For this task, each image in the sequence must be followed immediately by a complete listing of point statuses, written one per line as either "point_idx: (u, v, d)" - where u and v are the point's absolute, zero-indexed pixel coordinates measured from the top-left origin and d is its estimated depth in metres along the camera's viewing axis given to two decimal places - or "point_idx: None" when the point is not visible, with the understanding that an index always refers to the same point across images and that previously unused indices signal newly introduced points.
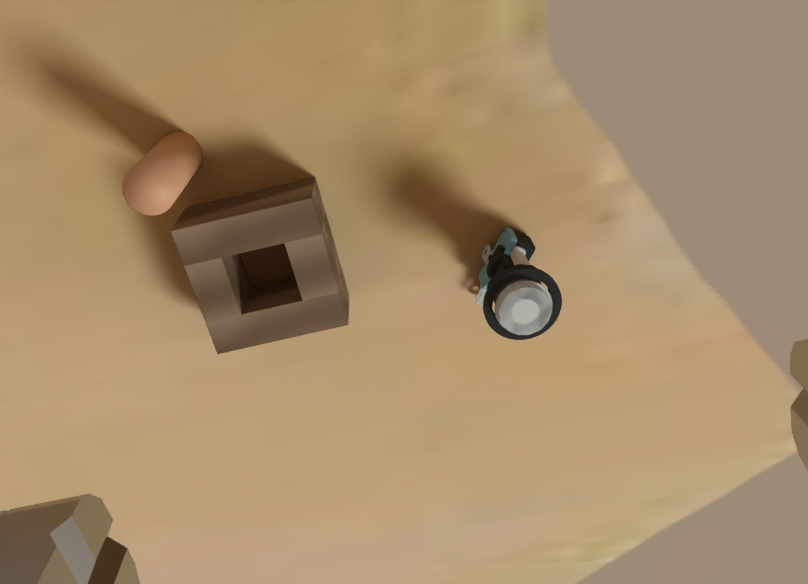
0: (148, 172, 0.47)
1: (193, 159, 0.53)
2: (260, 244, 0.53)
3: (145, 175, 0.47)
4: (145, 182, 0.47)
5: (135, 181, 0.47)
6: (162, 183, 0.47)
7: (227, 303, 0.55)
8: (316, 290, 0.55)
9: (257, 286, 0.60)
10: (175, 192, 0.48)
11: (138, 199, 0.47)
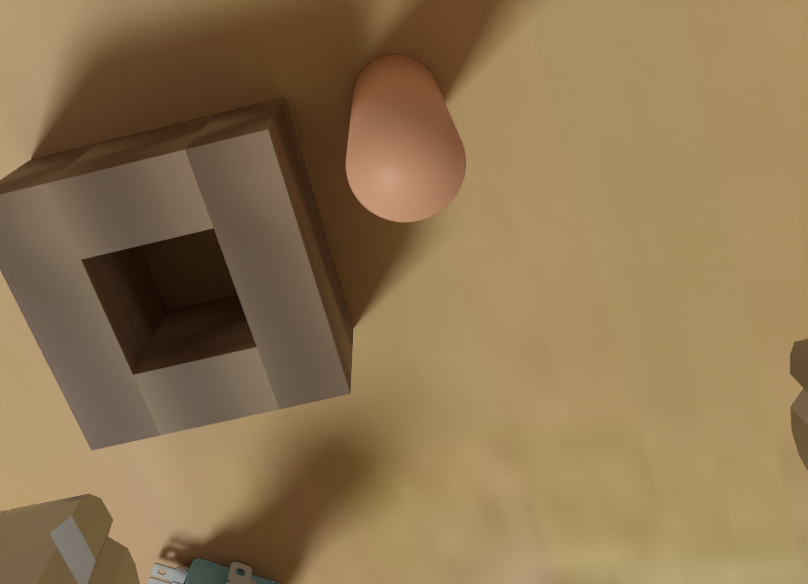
0: (448, 169, 0.20)
1: None
2: (249, 304, 0.26)
3: (443, 162, 0.20)
4: (426, 160, 0.20)
5: (429, 138, 0.20)
6: (423, 197, 0.21)
7: (104, 233, 0.25)
8: (159, 398, 0.28)
9: None
10: (400, 219, 0.21)
11: (385, 139, 0.20)
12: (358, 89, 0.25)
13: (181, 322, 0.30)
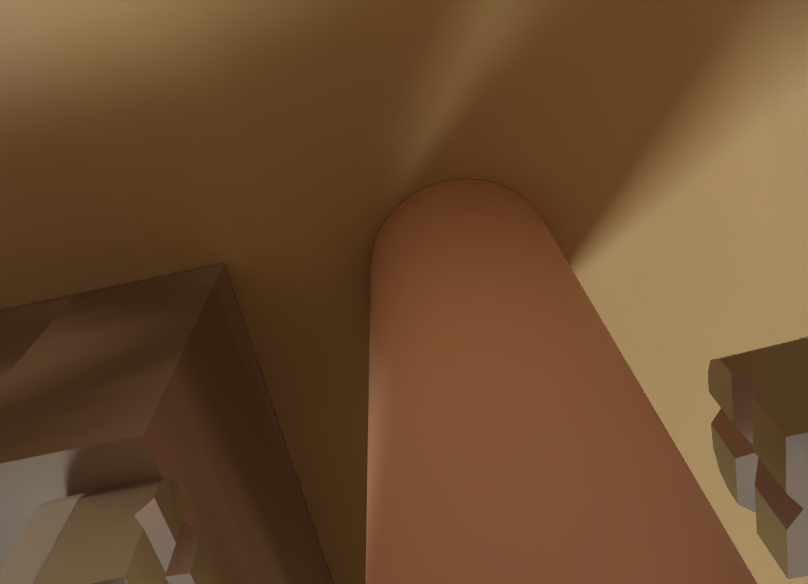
0: None
1: None
2: None
3: None
4: None
5: None
6: None
7: None
8: None
9: None
10: None
11: None
12: (389, 292, 0.10)
13: None
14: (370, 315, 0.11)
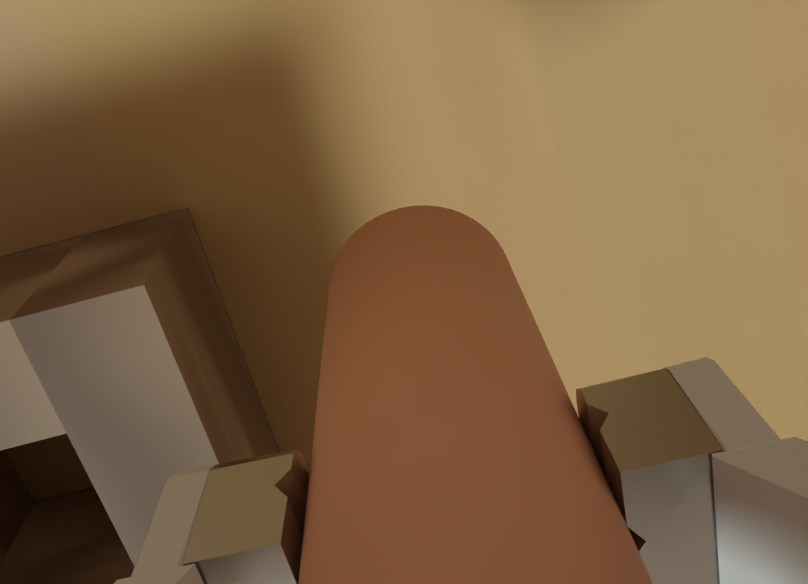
0: None
1: None
2: (133, 536, 0.17)
3: None
4: None
5: None
6: None
7: None
8: None
9: None
10: None
11: None
12: (338, 326, 0.10)
13: (49, 527, 0.21)
14: None
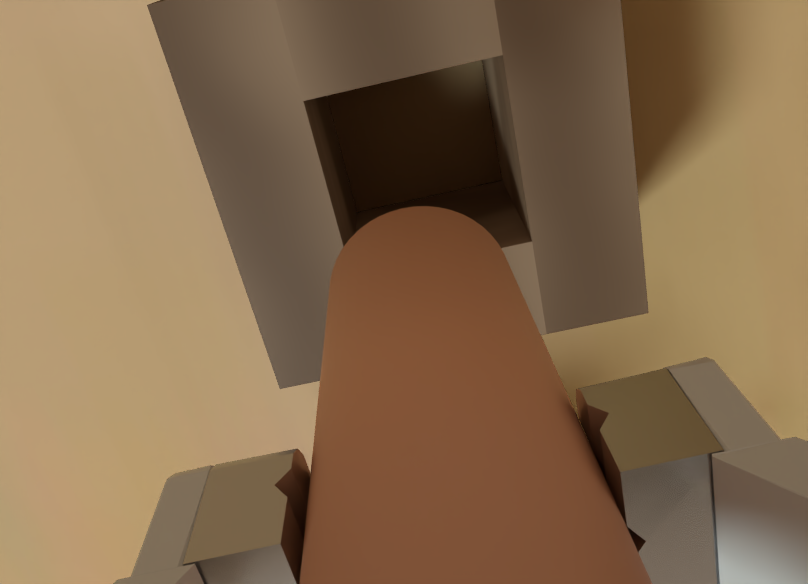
0: None
1: None
2: (533, 175, 0.18)
3: None
4: None
5: None
6: None
7: (342, 59, 0.17)
8: None
9: None
10: None
11: None
12: (338, 325, 0.10)
13: None
14: None
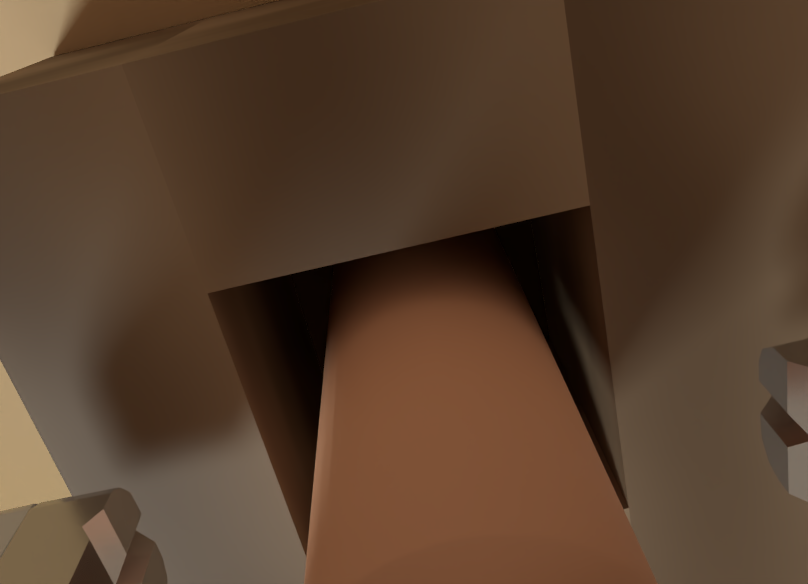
0: None
1: None
2: (638, 406, 0.10)
3: None
4: None
5: None
6: None
7: (280, 219, 0.09)
8: None
9: None
10: None
11: None
12: (343, 288, 0.11)
13: None
14: None
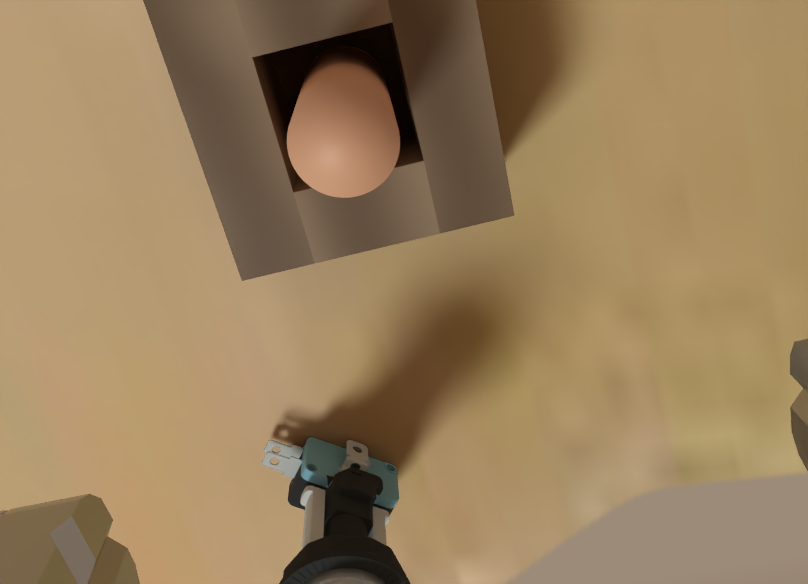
0: (384, 147, 0.22)
1: None
2: (421, 110, 0.25)
3: (378, 140, 0.22)
4: (362, 138, 0.22)
5: (365, 117, 0.21)
6: (360, 173, 0.22)
7: (279, 26, 0.24)
8: (318, 220, 0.27)
9: (271, 57, 0.29)
10: (339, 195, 0.22)
11: (323, 118, 0.21)
12: (306, 77, 0.27)
13: None
14: None
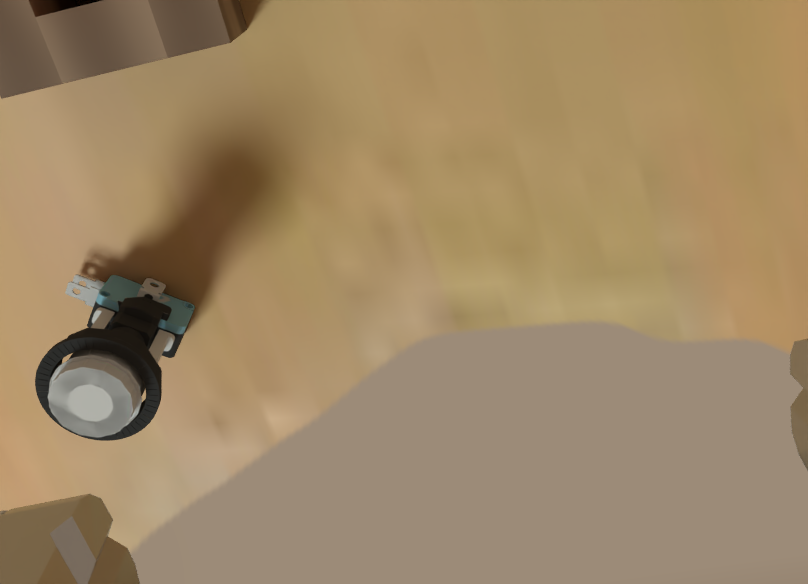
0: None
1: None
2: None
3: None
4: None
5: None
6: None
7: None
8: (60, 43, 0.31)
9: None
10: None
11: None
12: None
13: None
14: None
